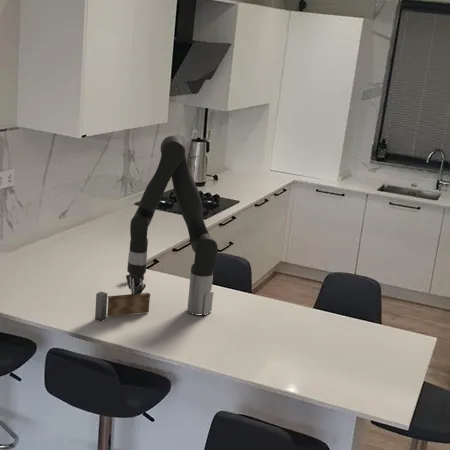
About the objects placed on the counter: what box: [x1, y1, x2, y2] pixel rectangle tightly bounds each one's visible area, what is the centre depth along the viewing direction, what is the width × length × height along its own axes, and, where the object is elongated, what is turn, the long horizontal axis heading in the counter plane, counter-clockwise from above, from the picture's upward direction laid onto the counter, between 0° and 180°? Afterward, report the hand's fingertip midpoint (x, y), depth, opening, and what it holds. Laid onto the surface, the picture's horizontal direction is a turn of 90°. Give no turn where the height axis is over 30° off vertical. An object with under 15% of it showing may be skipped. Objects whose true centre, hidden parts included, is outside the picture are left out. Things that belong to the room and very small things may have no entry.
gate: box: [106, 292, 151, 317], centre depth 278 cm, size 17×2×8 cm, turn 117°
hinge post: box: [94, 291, 108, 322], centre depth 270 cm, size 3×3×11 cm
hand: (134, 301), depth 283 cm, fingers closed
